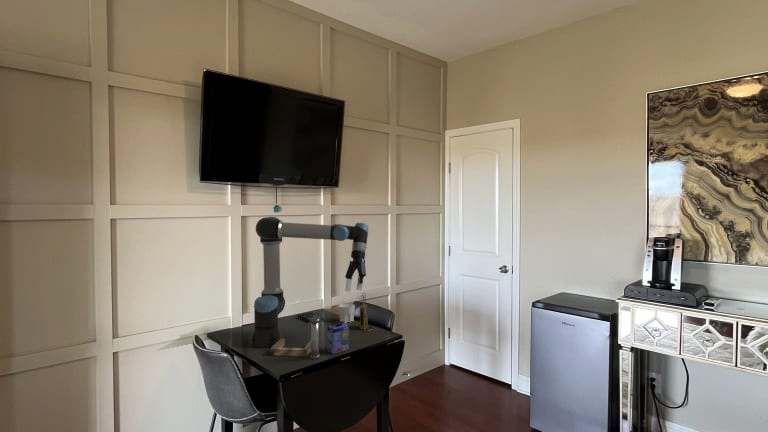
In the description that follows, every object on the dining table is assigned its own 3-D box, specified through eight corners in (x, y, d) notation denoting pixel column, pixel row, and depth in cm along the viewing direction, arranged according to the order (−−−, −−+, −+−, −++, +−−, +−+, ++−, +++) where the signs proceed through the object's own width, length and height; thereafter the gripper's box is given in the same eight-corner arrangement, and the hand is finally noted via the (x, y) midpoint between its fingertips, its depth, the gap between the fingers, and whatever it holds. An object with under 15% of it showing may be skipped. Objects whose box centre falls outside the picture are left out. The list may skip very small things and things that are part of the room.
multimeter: (375, 332, 229) (375, 297, 229) (358, 331, 231) (357, 296, 231) (380, 325, 244) (380, 291, 243) (364, 324, 246) (364, 291, 245)
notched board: (269, 355, 194) (269, 348, 194) (281, 344, 210) (280, 338, 210) (307, 356, 193) (307, 349, 193) (315, 345, 209) (315, 339, 209)
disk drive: (296, 319, 261) (309, 323, 250) (296, 314, 261) (309, 319, 250) (310, 316, 268) (323, 320, 257) (310, 312, 268) (323, 316, 257)
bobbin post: (308, 359, 189) (308, 320, 189) (311, 355, 194) (310, 317, 194) (318, 359, 189) (318, 320, 188) (321, 355, 194) (321, 317, 193)
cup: (337, 319, 256) (337, 304, 256) (353, 318, 259) (353, 303, 259) (339, 324, 247) (339, 307, 247) (356, 323, 249) (356, 306, 249)
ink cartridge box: (333, 354, 195) (333, 324, 195) (326, 351, 199) (326, 321, 199) (349, 349, 202) (349, 320, 202) (342, 346, 206) (342, 318, 206)
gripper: (375, 249, 214) (370, 290, 208) (354, 255, 235) (349, 292, 229) (363, 246, 211) (357, 288, 205) (342, 252, 232) (337, 290, 226)
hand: (353, 290), depth 217 cm, fingers open, 13 cm apart
